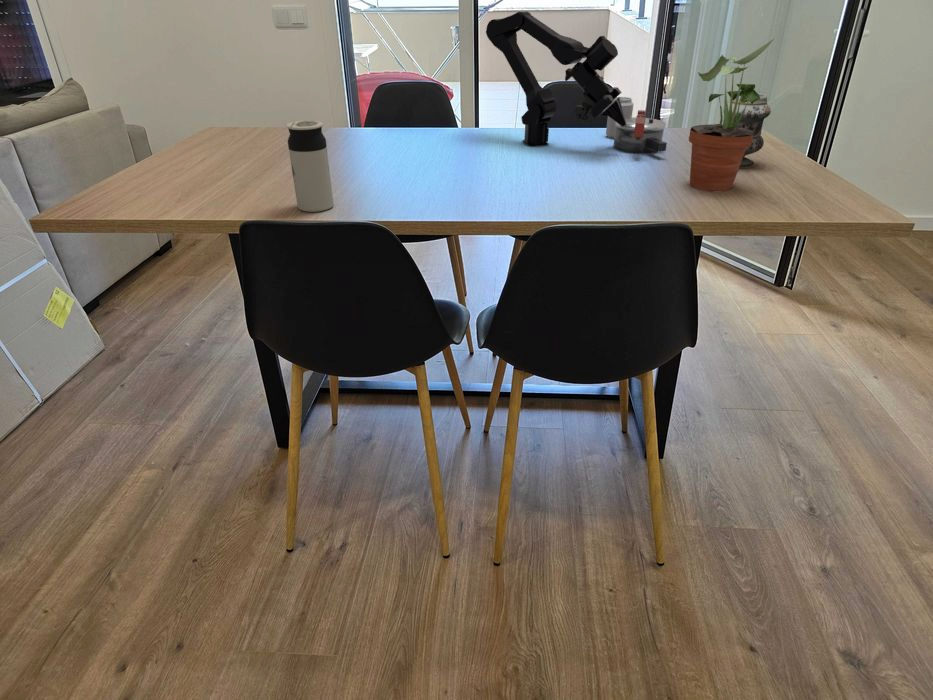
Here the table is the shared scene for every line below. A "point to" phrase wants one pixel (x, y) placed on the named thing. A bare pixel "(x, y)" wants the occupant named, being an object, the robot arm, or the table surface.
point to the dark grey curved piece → (639, 142)
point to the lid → (642, 124)
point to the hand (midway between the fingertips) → (624, 125)
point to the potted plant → (722, 133)
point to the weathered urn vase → (752, 123)
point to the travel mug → (310, 166)
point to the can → (627, 110)
